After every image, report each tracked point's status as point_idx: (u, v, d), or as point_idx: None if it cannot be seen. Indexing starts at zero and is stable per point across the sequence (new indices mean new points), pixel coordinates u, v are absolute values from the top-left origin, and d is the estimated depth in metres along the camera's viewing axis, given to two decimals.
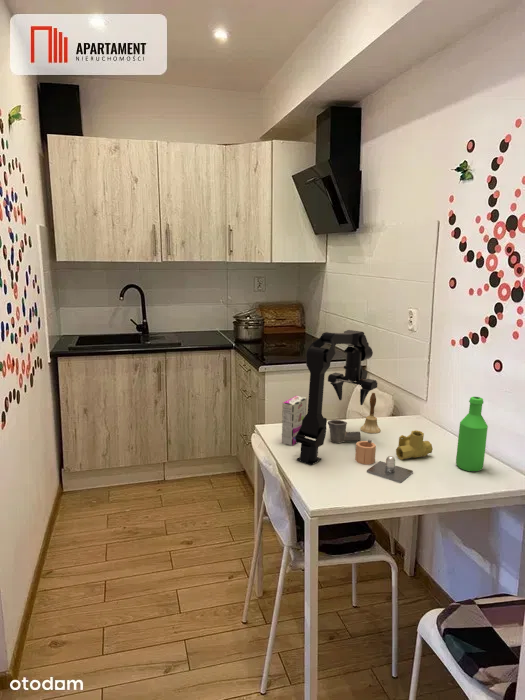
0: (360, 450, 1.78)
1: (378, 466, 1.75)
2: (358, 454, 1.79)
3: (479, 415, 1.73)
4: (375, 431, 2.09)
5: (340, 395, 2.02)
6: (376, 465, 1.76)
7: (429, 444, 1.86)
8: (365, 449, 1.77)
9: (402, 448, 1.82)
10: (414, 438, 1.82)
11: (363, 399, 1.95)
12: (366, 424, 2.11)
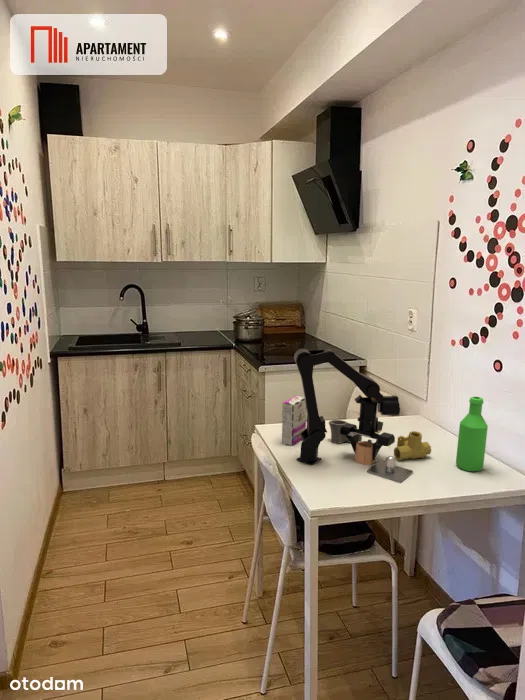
0: (360, 450, 1.78)
1: (378, 466, 1.75)
2: (358, 454, 1.79)
3: (479, 415, 1.73)
4: None
5: None
6: (376, 465, 1.76)
7: (428, 445, 1.85)
8: (365, 449, 1.77)
9: (399, 448, 1.82)
10: (412, 439, 1.81)
11: (375, 454, 1.78)
12: None
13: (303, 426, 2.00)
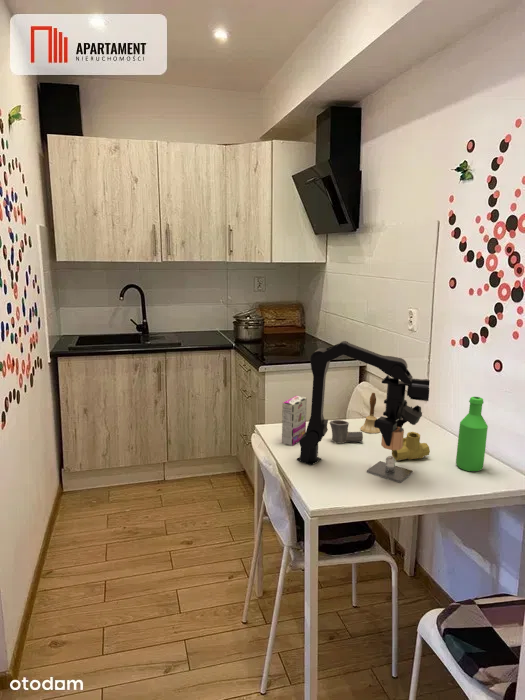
0: None
1: (378, 466, 1.75)
2: None
3: (479, 415, 1.73)
4: (375, 431, 2.09)
5: None
6: (376, 465, 1.76)
7: (426, 446, 1.84)
8: None
9: None
10: (410, 439, 1.81)
11: (384, 438, 1.67)
12: (366, 424, 2.11)
13: (303, 426, 2.00)
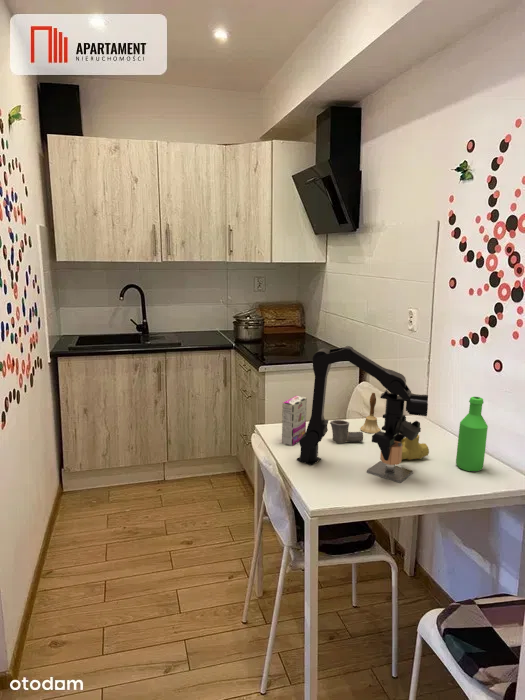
0: None
1: (378, 466, 1.75)
2: None
3: (479, 415, 1.73)
4: (375, 431, 2.09)
5: None
6: (376, 465, 1.76)
7: (425, 447, 1.83)
8: None
9: None
10: (408, 440, 1.81)
11: (382, 452, 1.68)
12: (366, 424, 2.11)
13: (303, 426, 2.00)
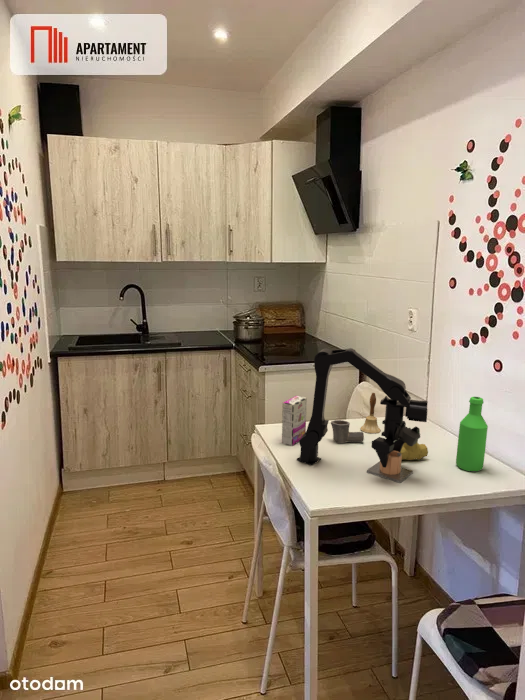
0: None
1: (378, 466, 1.75)
2: None
3: (479, 415, 1.73)
4: (375, 431, 2.09)
5: None
6: (376, 465, 1.76)
7: (424, 447, 1.83)
8: None
9: None
10: None
11: (380, 459, 1.67)
12: (366, 424, 2.11)
13: (303, 426, 2.00)
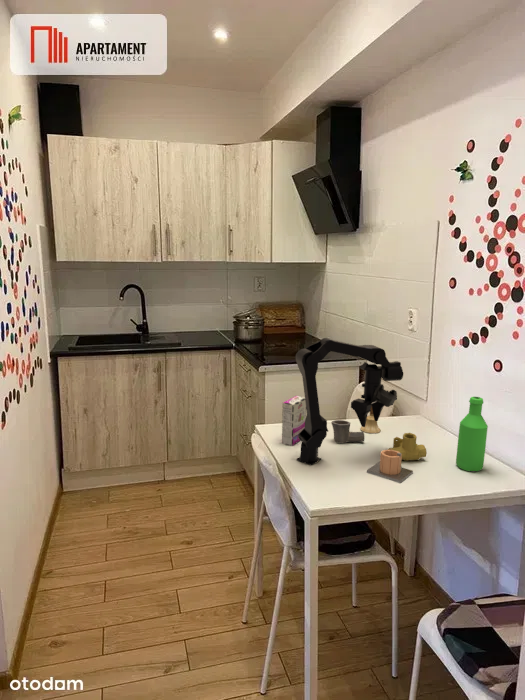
0: None
1: (378, 466, 1.75)
2: None
3: (479, 415, 1.73)
4: (375, 431, 2.09)
5: (375, 415, 1.88)
6: (376, 465, 1.76)
7: (423, 448, 1.82)
8: None
9: (392, 449, 1.81)
10: (405, 440, 1.80)
11: (360, 419, 1.80)
12: (366, 424, 2.11)
13: (303, 426, 2.00)
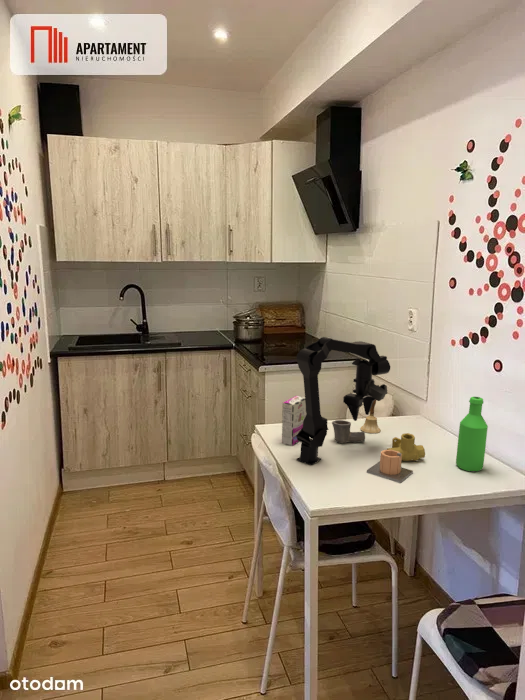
0: None
1: (378, 466, 1.75)
2: None
3: (479, 415, 1.73)
4: (375, 431, 2.09)
5: (366, 409, 1.94)
6: (376, 465, 1.76)
7: (422, 448, 1.81)
8: None
9: None
10: (403, 441, 1.79)
11: (352, 413, 1.86)
12: (366, 424, 2.11)
13: None
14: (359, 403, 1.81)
